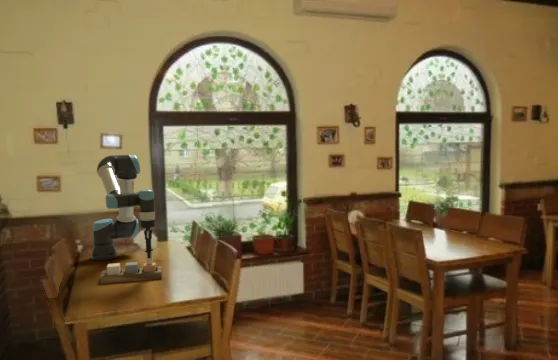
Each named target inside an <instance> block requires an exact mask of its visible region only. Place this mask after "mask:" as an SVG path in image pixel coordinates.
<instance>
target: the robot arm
mask: <svg viewBox="0 0 558 360" xmlns="http://www.w3.org/2000/svg"><path fill="white" fill-rule="evenodd" d="M96 173H97V175H98V177H99V178H100V179H101V181H102V184H103V186H104V189H105V193H106V196H105V199H104V200H105V206H106V208H107V209H109V210H111V209H114V210H117V209H118V215H117V216H116V218H115V219H116V220H113V219H112V218H104V219H99V220H96V221H94V222H93V223H92V238H93V239H92V240H93V241H92V242H93V243H92V244H93V247H92V250H91V254H90V256H91V257H90V259H91V260H93V261H108V260H112V259H116V258H117V257H118V251H117V249H116V247H115V244H114V242H115V240H121V239H130V238H135V237H136V236H137V235H138V234H139V227H140V228H142V229H144V230H143V235H144V240H145V249H146V250H145V251H144V253H146V263H147V264H152V263H153V253H152V252H153V251H154V249H152V248H153V247H152V238H153V230H152V228H154V227H156V212H155V211H156V210H155V192H154V190H153V189H141V190H139V191H137V192H135V180H136V179H137V178H138V177H137V176H138V175H139V174H141V166H140V161H139V158H138V156H137V155H135V154H121V155H107V156H105V157H104V158H102V159H101V160H100V161H99V163H98V164H97V167H96ZM118 180H119V181H118ZM135 207H139V213H138V216H139V219H140V221H139V220H138V218H137V217H136V216H135V214H134V208H135ZM139 223H140V224H139ZM139 225H140V226H139Z"/></svg>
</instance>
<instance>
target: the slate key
mask: <svg viewBox="0 0 558 360" xmlns="http://www.w3.org/2000/svg"><path fill="white" fill-rule="evenodd" d="M124 267H125V268H124V269H125V272H126V274H129V273H138V268H139V261H133V262H130V261H129V262H126V263H125V266H124Z"/></svg>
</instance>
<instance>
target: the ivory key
mask: <svg viewBox="0 0 558 360" xmlns="http://www.w3.org/2000/svg"><path fill="white" fill-rule="evenodd" d="M121 269H122V268H121V263H120V262H116V263H108V264H107V266H106V270H107V275H116V274H120V272H121Z"/></svg>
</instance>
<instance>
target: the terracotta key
mask: <svg viewBox="0 0 558 360" xmlns="http://www.w3.org/2000/svg"><path fill="white" fill-rule="evenodd" d="M156 266H157V263H156V262H155V261H154V262H153V261H152V264H147V262H145V263H144V262H143V268H144V272H154V271H156Z"/></svg>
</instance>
